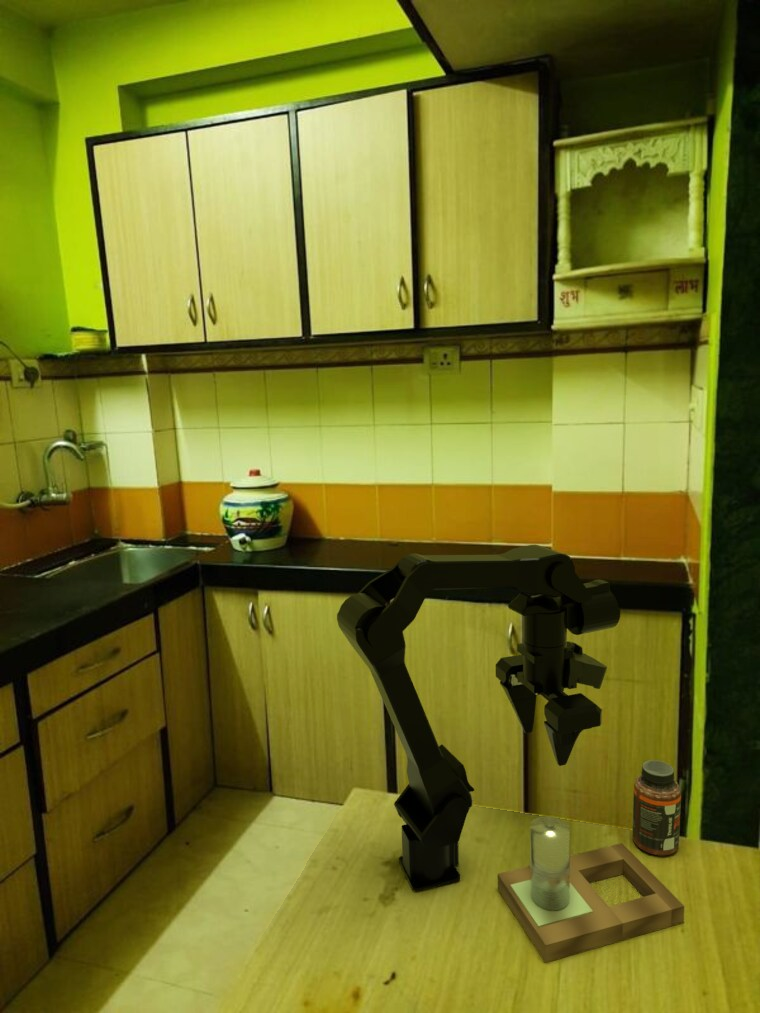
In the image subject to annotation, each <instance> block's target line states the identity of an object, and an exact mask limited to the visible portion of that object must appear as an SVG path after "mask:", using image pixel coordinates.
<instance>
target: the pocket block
mask: <svg viewBox="0 0 760 1013" xmlns="http://www.w3.org/2000/svg"><path fill="white" fill-rule="evenodd" d="M621 875H623V876H624V877H625V878H626V879H627V881H628V882H629V883H630V884H631V885H632V886H633V887H634V888H635V889H636V890H637V892H638V893H640V895H641V896H642V897H638V898H635V899H631V900H627V901H623V902H620V903H616V904H612V905H608V904H607V902H605V900H604V899H603V898H602V896H601V895H600V894H599V893H598V891H596V890H595V888H594V887H593V886H592V885H591V884H592V883H595V882H599V881H602V880H607V879H610V878H614V877H618V876H621ZM590 883H591V884H590ZM497 891H498V892H499V893H500V895H501V896H502V898H503V899H504V900H503V901H505V903H506V905H507V906H508V908H509V910H511V912H512V913H513V915H514V917H515V918H516V920H517V921H518V923H519V924H520V926H521V927H522V929H523V930H524V932H525V934H526V935H527V936H528V938H529V941H531V942H532V944H533V946H534V947H535V949H536V950H537V952H538V953H539V955H540V956H541V958H542V960H543V961H544V962H545V963H549V962H552V961H556V960H559V959H563V958H567V957H570V956H573V955H577V954H581V953H583V952H587V951H591V950H595V949H597V948H601V947H604V946H608V945H610V944H615V943H618V942H622V941H626V940H628V939H631V938H632V939H633V938H636V937H638V936H642V935H646V934H649V933H653V932H655V931H659V930H663V929H666V928H670V927H673V926H676V925H681V924H684V922H685V905H684V904H683V902H682V901H680V900H679V899H678V898H677V897H676V896H675V895H674V894H673V893H672V891H670V889H669V888H667V887H666V885H665V884H663V883H662V881H661V880H659V879H658V877H657V876H655V874H653V873H652V872H651V870H649V868H648V867H646V866H645V864H644V863H643V862H641V861H640V860H639V858H637V856H636V855H635V854H634V853H633V852H632V851H631V850H629V848H628V847H627V846H626V845H625V844H624V843H623V842H622V843H621V842H619V843H617V844H613V845H609V846H604V847H599V848H597V849H592V850H588V851H584V852H580V853H576V854H572V855H570V901H569V904H568V905H567V906H566V907H565V908H563V909H561V910H556V911H552V910H546V909H543V908H541V907H539V906H537V905H536V904H535V903H534V902H533V900H532V899H531V865H528V866H527V865H526V866H523V867H520V868H516V869H515V868H514V869H512V870H508V871H503V872H499V873H497Z"/></svg>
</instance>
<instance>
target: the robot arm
mask: <svg viewBox="0 0 760 1013" xmlns="http://www.w3.org/2000/svg"><path fill="white" fill-rule="evenodd" d="M476 589H477V590H479V589H480V590H481V589H482V590H484V589H514V590H518V591H519V590H520V591H521V592H519V593H518V595H517V596H516V597H515V598H513V599H512V600H511V601H510V602H509V603H508V605H507V607H508V609H509V610H511V611H513V612H515V613H517V614H519V615H521V616H522V643H517V644H516V649H517V650H516V652H517V653H519V654H516V655H512V656H505V657H500V658H499V660H498V661H497V662H496V664H495V677H496V678H497V679H498V680H499V684H500V686H501V687H502V688H503V691H504V693H505V694H506V697H507V699H508V701H509V703H510V705H511V707H512V709H513V711H514V713H515V715H516V717H517V719H518V722H519V724H520V726H521V727H522V730H523V732H524V733H525V734H530V733H532V732H534V731H533V730H534V724H535V714H536V703H537V696H539V695H541V696H542V697H543V698H544V699H545V700H546V701H547V702H546V704H545V705H544V706H543V707H544V708H543V710H544V712H543V713H544V717H545V719H546V720H544V721H543V725H544V728H545V731H546V735H547V737H548V740H549V743H550V746H551V749H552V752H553V756H554V758H555V761H556V764H557V765H558V766H559V767H562V766H566V764H567V763H568V761H569V759H570V756H571V753H572V751H573V749H574V747H575V744H576V741H577V740H578V739H579V738H578V737H579V736H580V734H581V733H582V732H583V731H584V730H589V729H592V728H597V727H601V725H602V722H603V709H602V708H601V707H600V706H599V705H598V704H596V703H595V702H594V701H592V700H591V699H590V698H588V697H587V696H586V695H584V694H583V693H581V692H579V693H574V694H567V693H565V691H564V690H565V689H567V690H573V689H577V688H578V684H580V685H585V686H589V687H592V688H594V689H595V690H600V689H601V688H602V684H603V682H604V678H605V674H606V673H607V670H608V666H606V665H605V664H604V663H603V662H600V661H598V660H597V659H595V658H594V657H593V656H590V655H588V654H586V653H584V652H583V647H582V646H581V645H579V644H577V643H576V642H574V641H570V640H568V639H567V637H568V636H567V635H568V631H569V632H570V633H571V634H573V635H576V636H580V635H585V634H590V633H594V632H599V631H604V630H608V629H614V628H615V627H616V626H617V625H618V624H619V622H620V618H621V608H620V607H619V603H618V601H617V598H616V596H615V595H614V594H613V592H612V591H611V583H610V582H608V581H606V580H602V579H594V580H592V581H590V582H585V583H583V581H582V580H581V579H580V577H579V575H578V574H577V573H576V567H575V564H574V561H573V559H572V558H571V556H569V555H568V554H566V553H563V552H560V551H556V550H555V549H551V548H548V547H545V546H543V545H538V544H529V545H524V546H519V547H515V548H512V549H510V550H508V551H506V552H503V553H499V554H430V555H429V554H425V555H424V554H422V555H421V554H419V553H414V552H413V553H408V554H405V555H404V556H402V557H401V558H400V559H399V560H398V561H397V562H396V563H395V564H394V565H393V566H392V567H391V568H389V569H387V570H386V571H384V572H382V573H381V574H380V575H378V576H377V577H374V578H373V579H372V580H370V581H368V582H367V584H365V585H364V586H363V587H362V589H360V590H359V591H358V593H355V594H353V595H350V596H349V597H348V598H346V599H345V600H344V601H343V602H342V604H341V605H340V606H339V610H338V612H337V613H336V622H337V625H338V628H339V629H340V631H341V632H342V634H343V635H344V637H345V638H346V640H347V641H348V642H349V645H351V647H352V648H353V649H354V650H355V652H356V653H357V655H358V656H359V657H360V658H361V660H362V661H363V662H364V664H365V665H366V667H367V668H368V669H369V671H370V673H371V675H372V678H373V681H374V683H375V685H376V688H377V689H378V692H379V694H380V697H381V699H382V701H383V703H384V705H385V708H386V710H387V712H388V715H389V717H390V721H391V722H392V724H393V726H394V729H395V731H396V734H397V737H398V738H399V742H400V744H401V745H402V748H403V750H404V752H405V756H406V757H407V758H406V759H407V762H406V763H407V764H406V775H407V778H408V779H407V780H408V784H407V785H406V787H405V788H404V790H402V792H401V793H400V795H399V796H398V797H397V799H396V800H395V801H394V802H393V806H394V808H395V810H396V813H397V815H398V816H399V817H400V818H401V819H402V821H403V822H404V823H405V824H402V825H401V846H402V848H401V849H402V850H401V851H402V855H401V856H399V857H398V863H399V864H400V866H401V869H402V871H403V873H404V875H405V877H406V879H407V882H408V884H409V886H410V888H411V889H412V891H413V892H420V891H425V890H429V889H431V888H436V887H437V888H438V887H440V886H444V885H448V884H453V883H456V882H459V881H460V880H461V875H460V873H459V871H458V869H457V868H458V867H459V864H460V861H459V860H460V859H459V858H460V857H459V856H460V855H459V854H460V853H459V842H460V838H461V836H462V832H463V828H464V826H465V822H466V818H467V816H468V813H469V811H470V808H472V807H473V797H472V794H471V792H474V791H475V788H474V787H473V786H472V785H471V784H470V783H469V780H468V775H467V771H466V769H465V768H466V767H465V766H464V764H463V763H462V762H461V761H460V760H459V759H458V758H457V757H456V756H455V755H454V754H453V753H452V752H451V751H450V750H449V749H448V748H447V747H446V746H445V745H444V744H440V745H439V744H438V741H437V739H436V736H435V733H434V731H433V729H432V726H431V723H430V722H429V719H428V717H427V714H426V711H425V709H424V707H423V705H422V702H421V699H420V697H419V694H418V693H417V689H416V688H415V685H414V683H413V680H412V678H411V676H410V673H409V670H408V668H407V666H406V661H405V660H406V659H405V658H406V647H407V646H406V640H405V635H404V631H405V630H406V629H407V627H409V625H411V624H412V622H414V620H416V617H417V615H418V613H419V611H420V610H421V607H422V605H423V604H424V601H425V599H426V598H427V597H428V596H429V595H430V594H431V592H432V591H440V590H441V591H443V590H444V591H445V590H448V591H450V590H476ZM528 593H530V594H534V595H530V594H528ZM391 600H392V601H391ZM389 601H390V602H389ZM388 602H389V603H388ZM387 603H388V605H386V604H387Z"/></svg>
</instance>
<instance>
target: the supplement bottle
mask: <svg viewBox="0 0 760 1013" xmlns="http://www.w3.org/2000/svg"><path fill="white" fill-rule="evenodd" d="M681 789H682V788H681V786H680V784H679V783H678V782H677V780H675V769H674V768H673V766H672V765H670V764H669V763H667V762H666V761H665V762H664V761H661V760H656V759H654V760H653V759H650V760H647V761H645V762H643V763H642V765H641V774H640V775H638V776H637V777H636V778H635V779H634V783H633V801H632V802H633V805H632V840H633V842H634V843H635V845H636V846H637V847H638V848H639V849H641V851H643V852H645V853H648V854H651V855H655V856H669V855H673V854H675V852H677V850H678V849H679V846H680V835H681V834H680V833H681V832H680V830H681V828H680V827H681V810H682V809H681V805H682V804H681V803H682V790H681Z"/></svg>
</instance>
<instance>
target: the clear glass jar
mask: <svg viewBox="0 0 760 1013" xmlns="http://www.w3.org/2000/svg"><path fill="white" fill-rule="evenodd" d="M529 830H530V831H529V832H530V833H529V836H530V837H529V838H530V839H529V841H530V842H529V843H530V845H529V846H530V848H529V849H530V850H529V851H530V854H529V856H530V857H529V858H530V863H529V864H530V866H531V899H532V900H533V902H534V903H535V904H536V905H537V906H539V907H541V908H543V909H546V910H552V911H556V910H561V909H563V908H565V907H566V906H567V905H568V904H569V901H570V856H571V855H570V854H571V850H570V849H571V846H570V845H571V844H570V843H571V836H570V834H571V830H570V826H569V825H568V823H567V822H566V821H565V820H563V819H561V818H558V817H555V816H549V815H548V816H546V815H543V816H539V817H536V818H534V819H532V821H531V822H530V824H529Z"/></svg>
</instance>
